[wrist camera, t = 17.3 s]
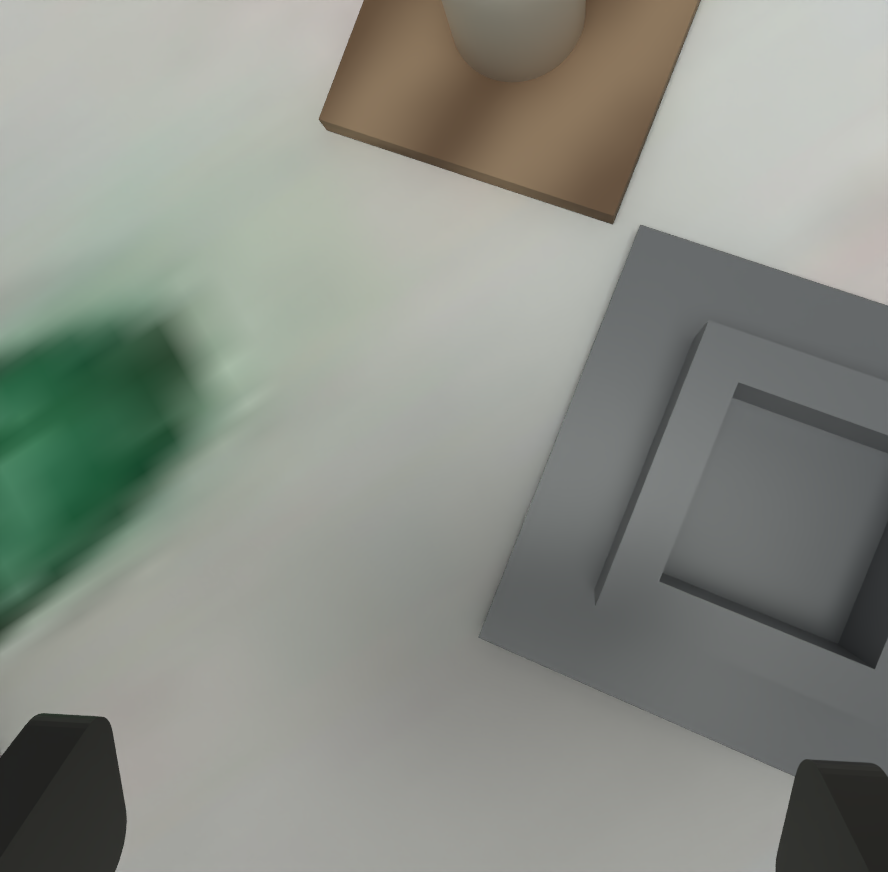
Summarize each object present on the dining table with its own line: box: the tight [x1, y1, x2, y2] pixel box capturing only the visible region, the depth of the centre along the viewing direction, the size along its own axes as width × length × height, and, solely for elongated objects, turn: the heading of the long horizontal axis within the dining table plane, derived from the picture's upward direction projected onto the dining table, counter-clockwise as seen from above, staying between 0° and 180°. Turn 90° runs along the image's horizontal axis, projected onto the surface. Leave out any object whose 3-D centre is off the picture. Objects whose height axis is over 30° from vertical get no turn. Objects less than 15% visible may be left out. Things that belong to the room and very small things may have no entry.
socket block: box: [478, 225, 888, 777], centre depth 26 cm, size 16×16×4 cm
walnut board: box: [319, 0, 701, 224], centre depth 30 cm, size 12×12×1 cm
